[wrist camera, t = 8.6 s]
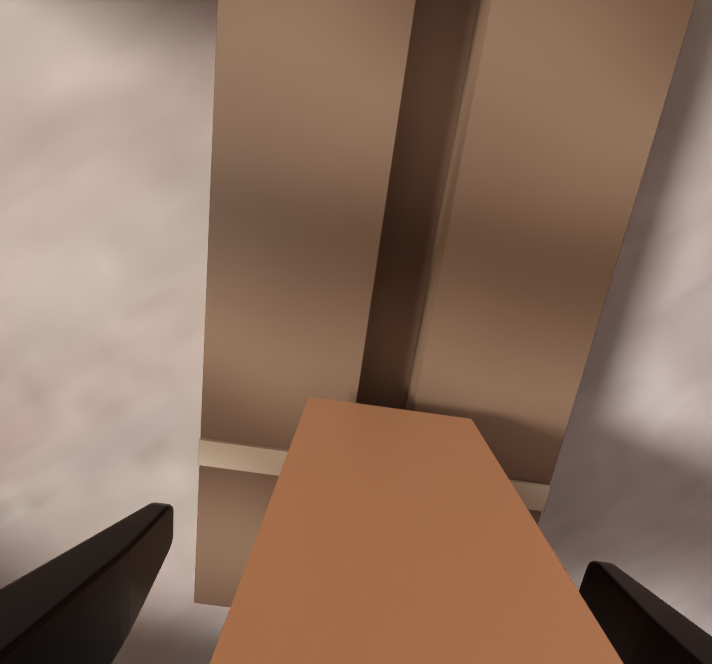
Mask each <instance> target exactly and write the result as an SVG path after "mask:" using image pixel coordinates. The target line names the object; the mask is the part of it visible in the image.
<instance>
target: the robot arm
mask: <svg viewBox="0 0 712 664" xmlns="http://www.w3.org/2000/svg"><path fill="white" fill-rule="evenodd" d="M172 539H173V507H172V506H171V505H170V504H163V503H151V504H149V505H147V506H145V507H143V508H142V509H140V510H138V511H136V512H135V513H133V514H131V515H129V516H128V517H126V518H124V519H122V520H121V521H119V522H117V523H115V524H114V525H112V526H110V527H108V528H107V529H105V530H103V531H101V532H100V533H98V534H96V535H94V536H93V537H91V538H89V539H87V540H86V541H84V542H82V543H80V544H79V545H77V546H75V547H73V548H72V549H70V550H68V551H66V552H65V553H63V554H61V555H59V556H58V557H56V558H54V559H52V560H51V561H49V562H47V563H45V564H44V565H42V566H40V567H38V568H37V569H35V570H33V571H31V572H30V573H28V574H26V575H24V576H23V577H21V578H19V579H17V580H16V581H14V582H12V583H10V584H9V585H7V586H5V587H3V588H2V589H0V664H112V662H113V660H114V658H115V657H116V655H117V653H118V652H119V650H120V648H121V646H122V645H123V643H124V641H125V639H126V638H127V636H128V634H129V632H130V630H131V628H132V626H133V624H134V622H135V620H136V618H137V616H138V614H139V612H140V610H141V608H142V606H143V604H144V602H145V600H146V598H147V595H148V593H149V591H150V589H151V587H152V585H153V583H154V581H155V579H156V577H157V574H158V572H159V570H160V568H161V566H162V564H163V562H164V560H165V558H166V556H167V553H168V551H169V549H170V547H171V544H172ZM579 593H580V594H581V596H582V598H583V599H584V601H585V602H586V604H587V606H588V607H589V609H590V611H591V612H592V614H593V615H594V617H595V619H596V620H597V622H598V623H599V625H600V627H601V628H602V630H603V631H604V633H605V635H606V636H607V638H608V640H609V641H610V643H611V644H612V646H613V648H614V649H615V651H616V652H617V654H618V656H619V657H620V659H621V660H622V662H623V664H712V636H710V635H709V634H708V633H706V632H705V631H704V630H702V629H701V628H700V627H698V626H697V625H695V624H694V623H693V622H691V621H690V620H689V619H687V618H686V617H685V616H683V615H682V614H680V613H679V612H678V611H676V610H675V609H674V608H672V607H671V606H670V605H668V604H667V603H665V602H664V601H663V600H661V599H660V598H659V597H657V596H656V595H655V594H653V593H652V592H650V591H649V590H648V589H646V588H645V587H644V586H642V585H641V584H640V583H638V582H637V581H635V580H634V579H633V578H631V577H630V576H629V575H627V574H626V573H625V572H623V571H622V570H620V569H619V568H618V567H616V566H615V565H613V564H611V563H607V562H599V561H591V562H590V563H589V564H588V566H587V569H586V572H585V575H584V578H583V580H582V583H581V586H580V589H579Z"/></svg>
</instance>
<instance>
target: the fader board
mask: <svg viewBox="0 0 712 664" xmlns="http://www.w3.org/2000/svg"><path fill="white" fill-rule="evenodd" d="M694 3H695V0H218V9H217V34H216V59H215V85H214V110H213V136H212V161H211V186H210V212H209V237H208V262H207V288H206V313H205V339H204V364H203V389H202V415H201V438H200V439H199V453H198V465H200V466H199V491H198V516H197V542H196V567H195V593H194V603H201V604H208V605H216V606H224V607H231V605H232V602H233V599H234V597H235V594H236V591H237V588H238V586H239V583H240V580H241V578H242V575H243V572H244V570H245V567H246V564H247V561H248V559H249V556H250V553H251V551H252V548H253V545H254V543H255V540H256V537H257V534H258V532H259V529H260V526H261V524H262V521H263V518H264V516H265V513H266V510H267V507H268V505H269V502H270V499H271V497H272V494H273V491H274V489H275V486H276V483H277V480H278V478H279V475H280V472H281V470H282V467H283V464H284V462H285V459H286V456H287V453H288V451H289V448H290V445H291V443H292V440H293V437H294V435H295V432H296V429H297V427H298V424H299V421H300V418H301V416H302V413H303V410H304V408H305V405H306V402H307V400H308V397H315V398H322V399H329V400H337V401H344V402H351V403H359V404H366V405H373V406H381V407H388V408H395V409H403V410H410V411H417V412H425V413H432V414H439V415H447V416H454V417H461V418H469V419H472V421H473V422H474V424H475V425H476V427H477V429H478V430H479V432H480V433H481V435H482V437H483V438H484V440H485V442H486V443H487V445H488V446H489V448H490V450H491V451H492V453H493V454H494V456H495V458H496V459H497V461H498V462H499V464H500V466H501V467H502V469H503V470H504V472H505V474H506V475H507V477H508V479H509V480H510V482H511V483H512V485H513V487H514V488H515V490H516V491H517V493H518V495H519V496H520V498H521V499H522V501H523V503H524V504H525V506H526V508H527V509H528V511H529V512H530V514H531V516H532V517H533V519H534V520H535V522H536V524H538V521H539V518H540V514H541V511H544V509H545V506H546V502H547V499H548V496H549V492H550V489H551V487H550V485H549V484H550V481H551V478H552V474H553V471H554V468H555V464H556V461H557V458H558V455H559V451H560V448H561V445H562V441H563V438H564V435H565V431H566V428H567V425H568V421H569V418H570V415H571V411H572V408H573V405H574V401H575V398H576V395H577V391H578V388H579V385H580V382H581V378H582V375H583V372H584V368H585V365H586V362H587V358H588V355H589V352H590V348H591V345H592V342H593V338H594V335H595V332H596V328H597V325H598V322H599V318H600V315H601V312H602V309H603V305H604V302H605V299H606V295H607V292H608V289H609V285H610V282H611V279H612V275H613V272H614V269H615V265H616V262H617V259H618V255H619V252H620V249H621V245H622V242H623V239H624V236H625V232H626V229H627V226H628V222H629V219H630V216H631V212H632V209H633V206H634V202H635V199H636V196H637V192H638V189H639V186H640V182H641V179H642V176H643V172H644V169H645V166H646V163H647V159H648V156H649V153H650V149H651V146H652V143H653V139H654V136H655V133H656V129H657V126H658V123H659V119H660V116H661V113H662V109H663V106H664V103H665V99H666V96H667V93H668V90H669V86H670V83H671V80H672V76H673V73H674V70H675V66H676V63H677V60H678V56H679V53H680V50H681V46H682V43H683V40H684V36H685V33H686V30H687V26H688V23H689V20H690V17H691V13H692V10H693V7H694Z"/></svg>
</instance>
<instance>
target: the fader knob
mask: <svg viewBox="0 0 712 664" xmlns="http://www.w3.org/2000/svg"><path fill="white" fill-rule="evenodd" d="M210 664H623V662H622V660H621V659H620V657H619V656H618V654H617V652H616V651H615V649H614V648H613V646H612V644H611V643H610V641H609V640H608V638H607V636H606V635H605V633H604V631H603V630H602V628H601V627H600V625H599V623H598V622H597V620H596V619H595V617H594V615H593V614H592V612H591V611H590V609H589V607H588V606H587V604H586V602H585V601H584V599H583V598H582V596H581V594H580V593H579V591H578V590H577V588H576V586H575V585H574V583H573V582H572V580H571V578H570V577H569V575H568V574H567V572H566V570H565V569H564V567H563V565H562V564H561V562H560V561H559V559H558V557H557V556H556V554H555V553H554V551H553V549H552V548H551V546H550V545H549V543H548V541H547V540H546V538H545V536H544V535H543V533H542V532H541V530H540V528H539V527H538V525H537V524H536V522H535V520H534V519H533V517H532V516H531V514H530V512H529V511H528V509H527V508H526V506H525V504H524V503H523V501H522V499H521V498H520V496H519V495H518V493H517V491H516V490H515V488H514V487H513V485H512V483H511V482H510V480H509V479H508V477H507V475H506V474H505V472H504V470H503V469H502V467H501V466H500V464H499V462H498V461H497V459H496V458H495V456H494V454H493V453H492V451H491V450H490V448H489V446H488V445H487V443H486V442H485V440H484V438H483V437H482V435H481V433H480V432H479V430H478V429H477V427H476V425H475V424H474V422H473V421H472V419H469V418H461V417H454V416H447V415H439V414H432V413H425V412H417V411H410V410H403V409H395V408H388V407H381V406H373V405H366V404H359V403H351V402H344V401H337V400H329V399H322V398H315V397H308V400H307V402H306V405H305V408H304V410H303V413H302V416H301V418H300V421H299V424H298V427H297V429H296V432H295V435H294V437H293V440H292V443H291V445H290V448H289V451H288V453H287V456H286V459H285V462H284V464H283V467H282V470H281V472H280V475H279V478H278V480H277V483H276V486H275V489H274V491H273V494H272V497H271V499H270V502H269V505H268V507H267V510H266V513H265V516H264V518H263V521H262V524H261V526H260V529H259V532H258V534H257V537H256V540H255V543H254V545H253V548H252V551H251V553H250V556H249V559H248V561H247V564H246V567H245V570H244V572H243V575H242V578H241V580H240V583H239V586H238V588H237V591H236V594H235V597H234V599H233V602H232V605H231V607H230V610H229V613H228V615H227V618H226V621H225V623H224V626H223V629H222V632H221V634H220V637H219V640H218V642H217V645H216V648H215V650H214V653H213V656H212V659H211V661H210Z"/></svg>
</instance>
